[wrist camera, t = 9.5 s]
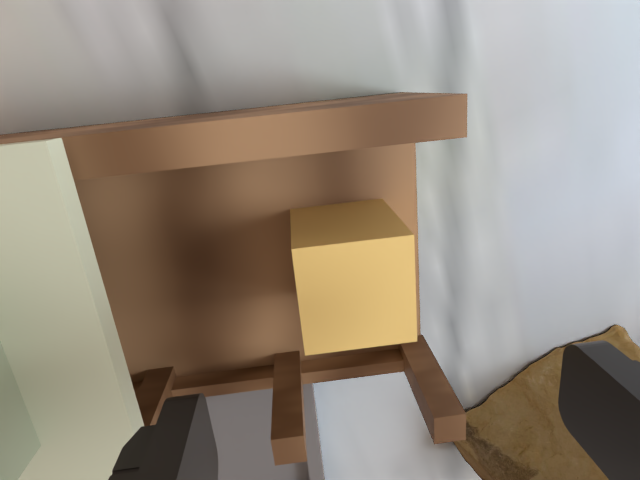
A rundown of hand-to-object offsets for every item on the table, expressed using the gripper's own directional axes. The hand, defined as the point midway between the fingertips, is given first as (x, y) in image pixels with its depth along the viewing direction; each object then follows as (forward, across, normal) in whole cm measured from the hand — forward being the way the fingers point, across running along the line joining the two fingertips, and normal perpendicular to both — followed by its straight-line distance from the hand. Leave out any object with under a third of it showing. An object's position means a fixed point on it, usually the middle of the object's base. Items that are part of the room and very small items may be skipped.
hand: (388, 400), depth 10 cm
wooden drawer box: (+12, +6, 0) cm, 14 cm away
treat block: (+10, 0, 0) cm, 10 cm away
